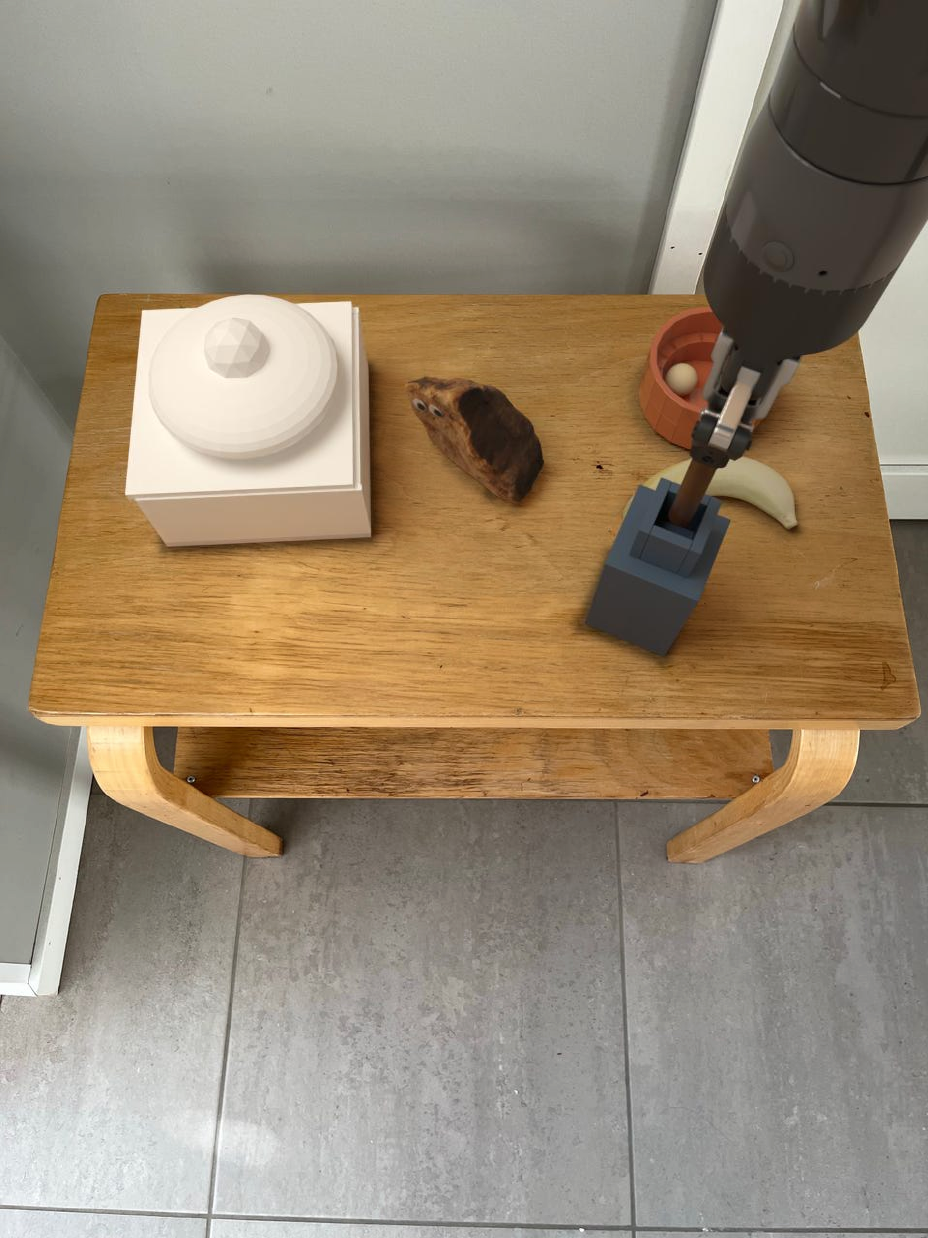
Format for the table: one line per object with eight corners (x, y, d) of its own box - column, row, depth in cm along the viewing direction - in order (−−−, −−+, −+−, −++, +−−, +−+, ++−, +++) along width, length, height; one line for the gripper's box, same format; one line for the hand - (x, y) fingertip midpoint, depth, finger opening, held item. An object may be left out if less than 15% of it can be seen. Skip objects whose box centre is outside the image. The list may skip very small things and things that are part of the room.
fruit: (607, 479, 80) (613, 459, 77) (774, 458, 81) (787, 438, 78) (623, 552, 78) (629, 535, 75) (796, 530, 78) (809, 512, 75)
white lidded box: (371, 536, 78) (349, 435, 63) (161, 547, 78) (89, 447, 63) (369, 366, 85) (348, 237, 70) (173, 374, 84) (111, 247, 69)
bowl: (777, 375, 84) (799, 333, 78) (738, 472, 80) (759, 435, 75) (662, 334, 86) (676, 289, 80) (619, 427, 82) (631, 387, 77)
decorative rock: (405, 445, 81) (396, 371, 71) (447, 400, 83) (444, 322, 73) (512, 520, 79) (518, 454, 69) (553, 471, 80) (566, 400, 70)
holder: (692, 585, 77) (747, 491, 62) (663, 657, 74) (713, 578, 59) (614, 553, 78) (650, 454, 63) (583, 623, 75) (613, 538, 60)
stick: (695, 511, 61) (756, 386, 48) (687, 530, 61) (747, 409, 48) (673, 502, 62) (727, 375, 49) (664, 521, 61) (718, 399, 48)
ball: (697, 382, 83) (705, 363, 81) (687, 406, 82) (694, 387, 80) (668, 371, 84) (675, 352, 81) (658, 395, 83) (664, 376, 80)
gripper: (866, 372, 34) (738, 566, 50) (955, 124, 38) (811, 376, 55) (675, 305, 35) (610, 516, 51) (783, 71, 39) (691, 333, 56)
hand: (714, 443), depth 53 cm, fingers closed on stick, 1 cm apart
